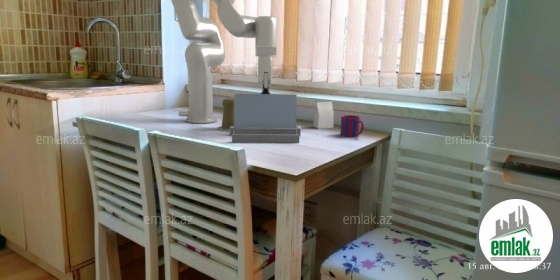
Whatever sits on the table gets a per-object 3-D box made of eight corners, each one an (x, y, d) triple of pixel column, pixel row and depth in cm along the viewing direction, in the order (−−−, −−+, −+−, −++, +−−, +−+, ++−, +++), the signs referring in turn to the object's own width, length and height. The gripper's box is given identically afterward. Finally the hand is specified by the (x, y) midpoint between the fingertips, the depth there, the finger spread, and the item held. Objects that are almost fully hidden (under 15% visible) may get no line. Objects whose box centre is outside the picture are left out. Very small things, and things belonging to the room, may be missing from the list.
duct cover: (234, 127, 146) (234, 127, 147) (296, 128, 147) (296, 128, 148) (234, 93, 146) (234, 94, 147) (296, 94, 147) (296, 94, 148)
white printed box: (333, 127, 162) (334, 102, 160) (318, 128, 160) (319, 103, 157) (328, 126, 166) (329, 101, 163) (313, 127, 163) (314, 101, 161)
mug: (352, 132, 153) (353, 114, 152) (368, 138, 144) (369, 119, 143) (336, 134, 151) (337, 115, 149) (352, 139, 142) (353, 120, 140)
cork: (235, 129, 154) (234, 100, 151) (219, 128, 155) (218, 99, 152) (239, 126, 159) (239, 98, 157) (224, 125, 160) (223, 97, 158)
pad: (215, 131, 152) (215, 130, 152) (218, 125, 161) (218, 125, 161) (243, 131, 152) (243, 130, 152) (244, 126, 162) (244, 125, 162)
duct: (230, 134, 147) (230, 126, 146) (299, 134, 148) (300, 126, 147) (227, 142, 135) (227, 133, 134) (303, 142, 136) (303, 133, 135)
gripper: (255, 52, 154) (255, 100, 158) (255, 52, 140) (255, 106, 144) (275, 52, 155) (274, 101, 159) (277, 52, 140) (276, 106, 144)
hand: (265, 103), depth 151 cm, fingers closed
